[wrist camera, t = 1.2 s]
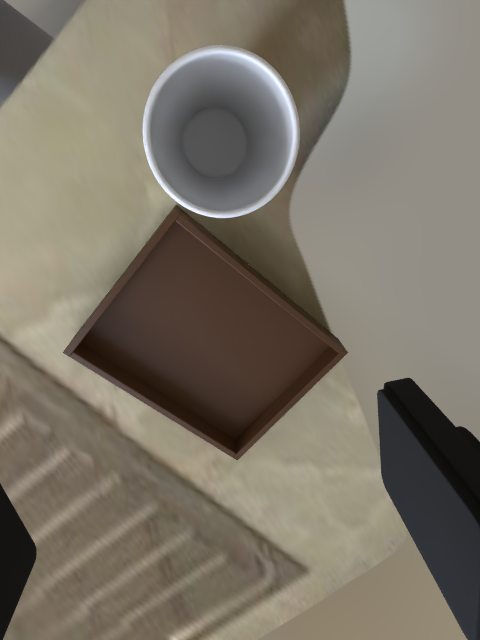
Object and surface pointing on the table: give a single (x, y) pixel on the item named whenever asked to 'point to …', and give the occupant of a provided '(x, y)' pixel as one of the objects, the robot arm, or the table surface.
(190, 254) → the tray
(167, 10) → the table surface
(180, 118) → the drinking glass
